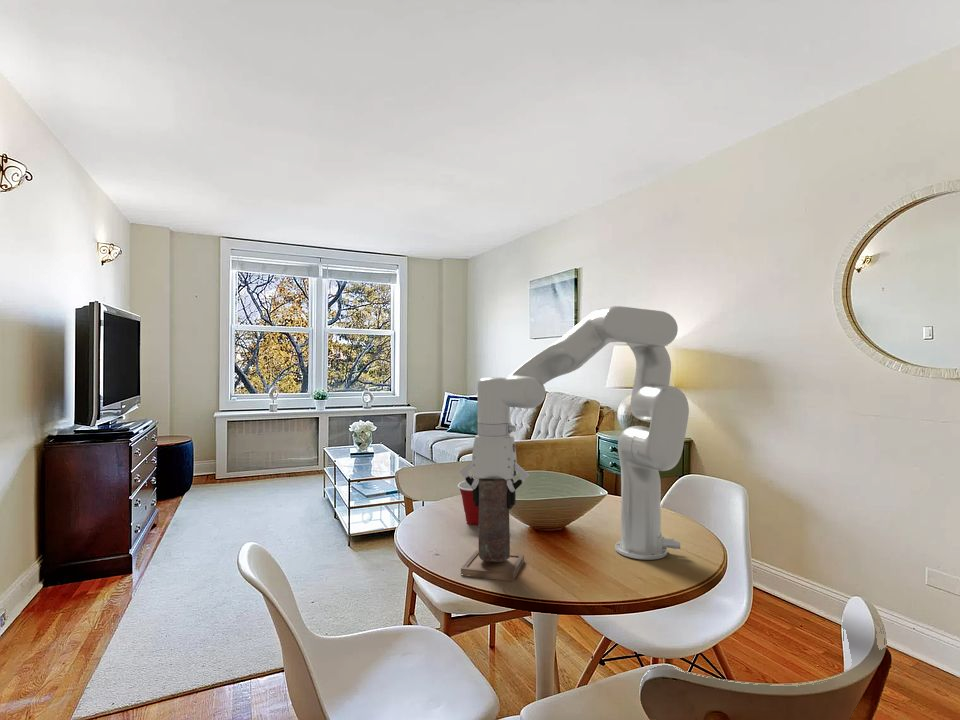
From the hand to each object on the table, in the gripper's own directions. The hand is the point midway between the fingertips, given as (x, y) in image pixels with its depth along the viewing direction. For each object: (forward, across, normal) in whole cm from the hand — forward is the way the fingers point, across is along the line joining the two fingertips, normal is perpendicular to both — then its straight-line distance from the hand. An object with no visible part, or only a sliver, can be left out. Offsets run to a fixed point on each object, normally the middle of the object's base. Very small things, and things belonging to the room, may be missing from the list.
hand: (494, 505), depth 124 cm
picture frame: (+14, 0, 0) cm, 14 cm away
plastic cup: (+15, +14, -32) cm, 38 cm away
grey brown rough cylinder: (+13, 0, 0) cm, 13 cm away
